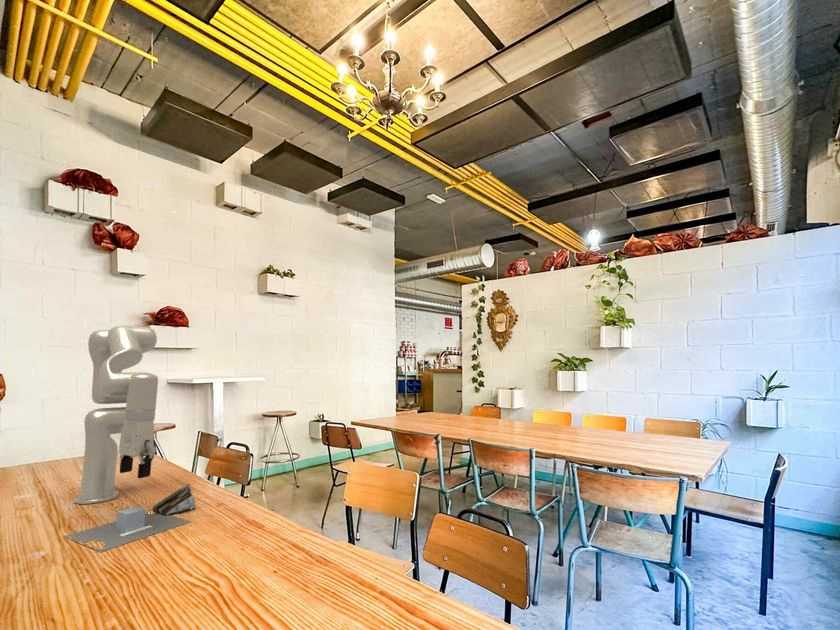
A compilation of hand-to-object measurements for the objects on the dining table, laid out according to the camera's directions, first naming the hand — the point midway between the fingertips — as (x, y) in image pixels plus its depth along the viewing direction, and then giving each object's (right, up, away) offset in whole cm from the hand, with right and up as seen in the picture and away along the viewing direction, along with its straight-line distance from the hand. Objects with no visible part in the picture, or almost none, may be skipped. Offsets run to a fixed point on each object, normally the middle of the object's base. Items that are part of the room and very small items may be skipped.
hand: (134, 474), depth 122 cm
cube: (0, -15, -2) cm, 15 cm away
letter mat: (0, -15, -2) cm, 15 cm away
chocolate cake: (+5, -17, +12) cm, 22 cm away
